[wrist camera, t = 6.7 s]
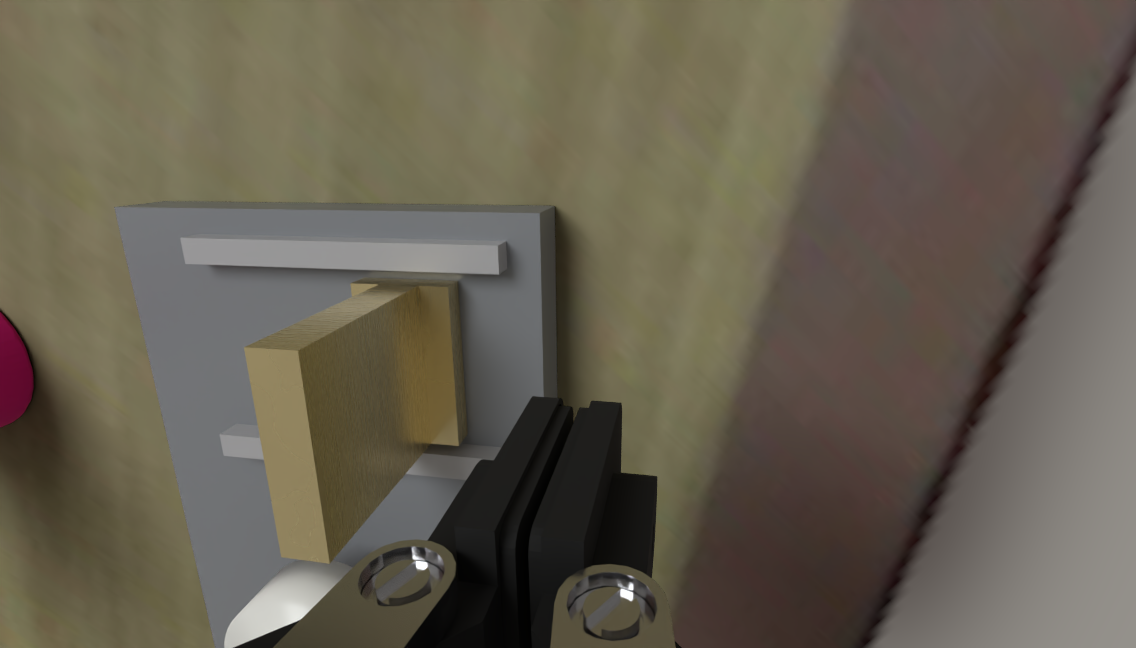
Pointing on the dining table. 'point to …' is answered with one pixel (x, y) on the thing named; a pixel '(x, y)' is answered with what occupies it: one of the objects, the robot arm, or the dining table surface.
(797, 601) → the dining table surface
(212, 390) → the control panel
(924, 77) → the dining table surface
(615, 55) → the dining table surface
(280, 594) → the white knob
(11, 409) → the pepper mill
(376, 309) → the brass paddle
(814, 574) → the dining table surface
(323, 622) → the robot arm
